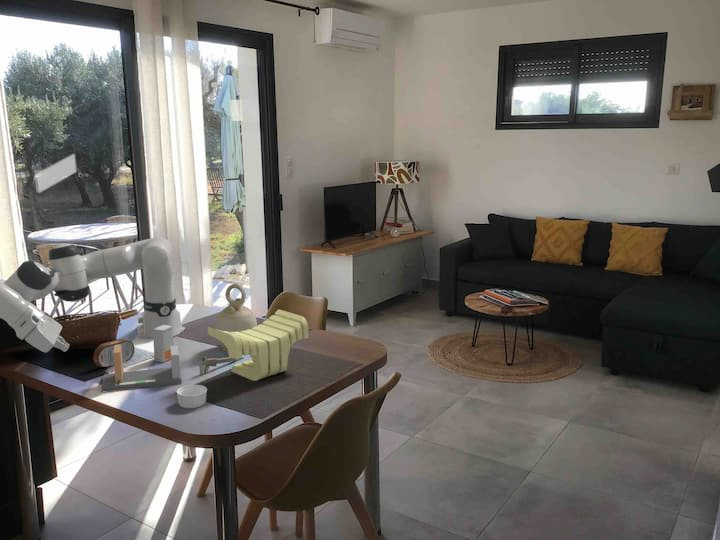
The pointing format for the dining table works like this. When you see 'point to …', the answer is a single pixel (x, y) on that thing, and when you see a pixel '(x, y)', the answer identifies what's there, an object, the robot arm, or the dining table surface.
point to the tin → (105, 352)
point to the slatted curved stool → (264, 344)
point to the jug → (235, 315)
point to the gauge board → (146, 376)
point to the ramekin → (192, 396)
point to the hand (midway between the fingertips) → (67, 348)
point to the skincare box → (162, 342)
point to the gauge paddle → (118, 363)
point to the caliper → (213, 363)
